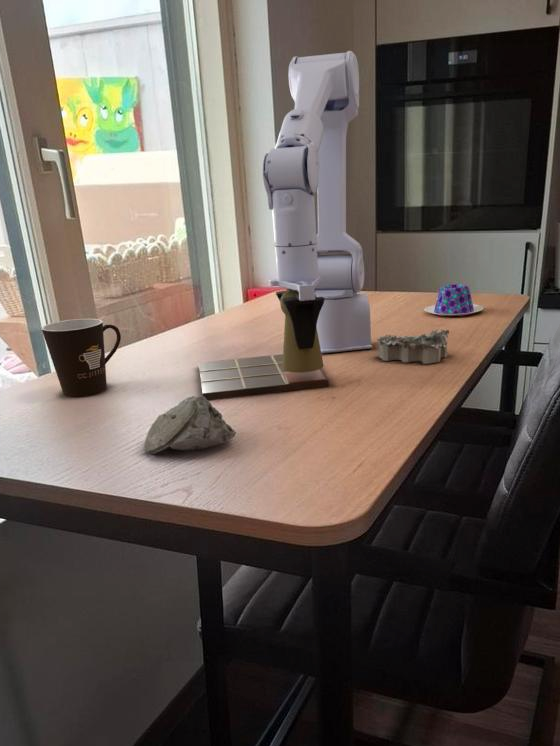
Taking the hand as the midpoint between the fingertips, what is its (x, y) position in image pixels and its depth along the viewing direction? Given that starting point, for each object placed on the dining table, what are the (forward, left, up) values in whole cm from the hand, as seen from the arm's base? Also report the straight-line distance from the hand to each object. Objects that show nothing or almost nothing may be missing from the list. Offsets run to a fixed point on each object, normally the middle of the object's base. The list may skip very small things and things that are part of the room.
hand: (302, 343), depth 101 cm
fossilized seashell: (+17, +20, -6) cm, 27 cm away
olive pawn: (0, 0, -4) cm, 4 cm away
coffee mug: (+31, -9, -6) cm, 33 cm away
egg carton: (-19, -8, -6) cm, 21 cm away
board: (+6, -6, -6) cm, 10 cm away
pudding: (-38, -40, -6) cm, 55 cm away
